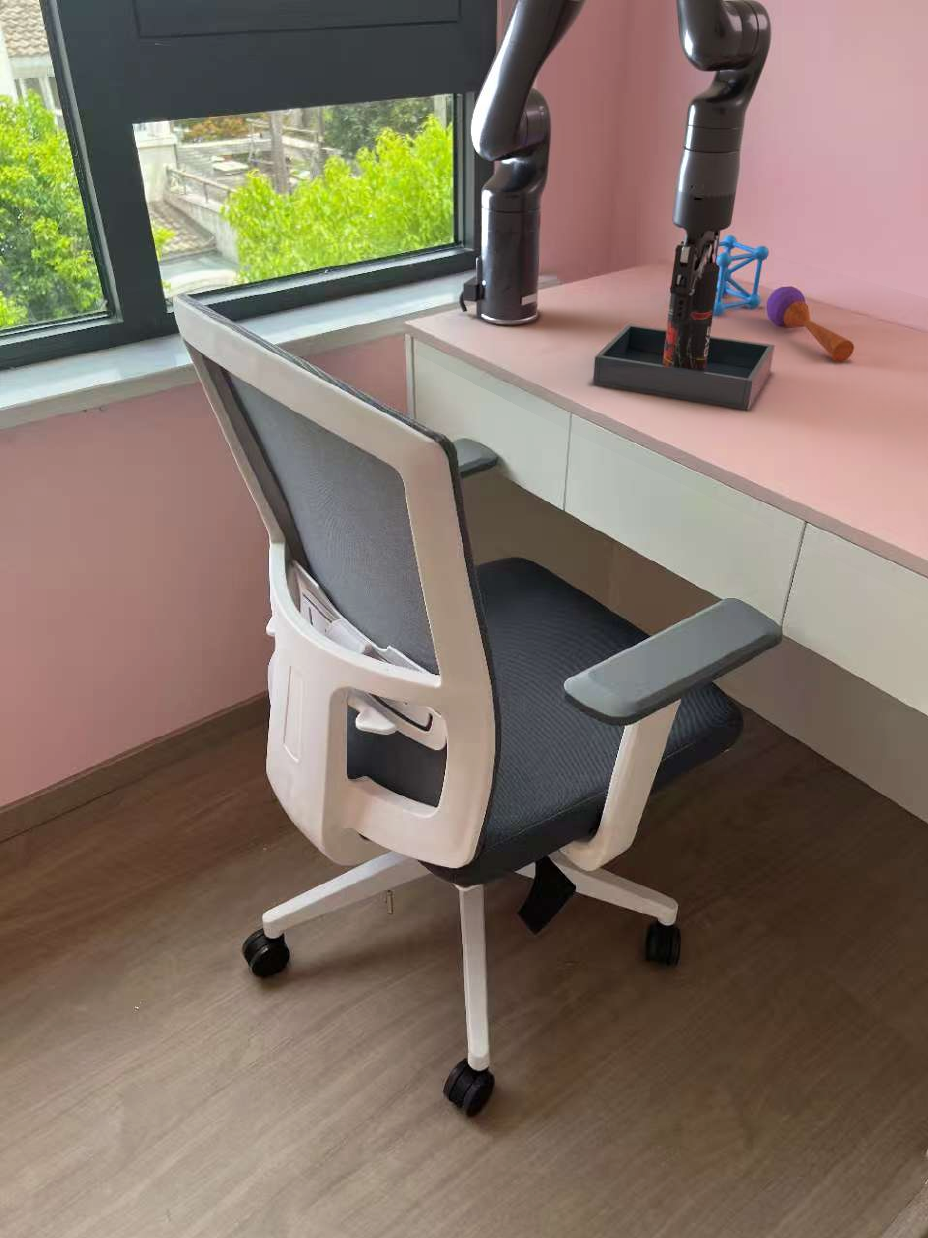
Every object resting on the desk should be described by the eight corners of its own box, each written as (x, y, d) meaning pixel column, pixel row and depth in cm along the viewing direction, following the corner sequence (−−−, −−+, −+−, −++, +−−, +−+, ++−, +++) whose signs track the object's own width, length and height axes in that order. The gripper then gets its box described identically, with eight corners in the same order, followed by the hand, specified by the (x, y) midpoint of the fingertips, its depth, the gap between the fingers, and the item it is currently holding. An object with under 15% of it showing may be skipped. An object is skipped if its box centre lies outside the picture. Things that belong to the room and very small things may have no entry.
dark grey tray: (592, 384, 138) (594, 356, 135) (625, 350, 148) (627, 323, 146) (747, 410, 130) (752, 381, 128) (769, 372, 141) (774, 345, 138)
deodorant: (704, 383, 136) (720, 273, 127) (660, 380, 137) (673, 271, 128) (704, 368, 141) (719, 260, 132) (662, 365, 142) (674, 258, 133)
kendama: (825, 337, 141) (759, 286, 156) (822, 375, 145) (758, 321, 160) (864, 326, 141) (794, 276, 156) (860, 364, 145) (792, 311, 160)
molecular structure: (677, 301, 167) (684, 240, 161) (723, 292, 171) (731, 232, 165) (715, 318, 160) (724, 254, 154) (762, 308, 164) (773, 246, 158)
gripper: (692, 172, 131) (676, 294, 140) (661, 194, 120) (646, 325, 130) (748, 177, 128) (728, 301, 138) (722, 201, 118) (702, 334, 127)
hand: (688, 313), depth 134 cm, fingers open, 8 cm apart
